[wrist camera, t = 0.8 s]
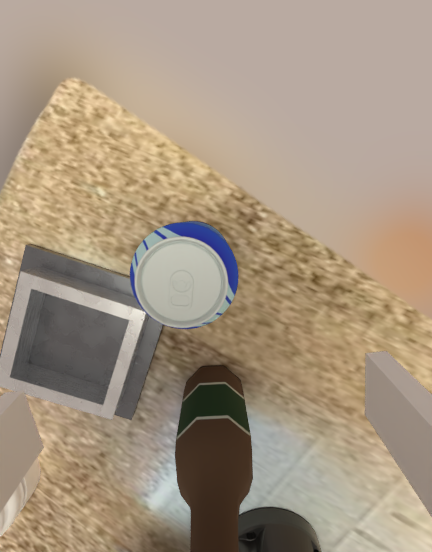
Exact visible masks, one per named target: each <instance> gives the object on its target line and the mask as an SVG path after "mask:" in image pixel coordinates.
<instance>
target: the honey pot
mask: <svg viewBox="0 0 432 552" xmlns="http://www.w3.org/2000/svg"><path fill="white" fill-rule="evenodd" d="M40 472H41V469H40V464H39V459H38V457H37V458H36V460H35V461H34V463H33V464H32V466H31V467H30V469H29V470H28V472H27V473H26V475H25V476H24V478H23V479H22V481H21V482H20V484H19V485H18V487H17V488H16V490H15V491H14V493H13V494H12V496H11V497H10V499H9V500H8V502H7V503H6V505H5V507H4V508H3V510H2V511H1V513H0V536H2V535H3V533H4V532H5V531H6V530H7V529H8V528H9V527H10V526H11V525H12V524H13V522H14V520H15V518H16V517H17V516H18V515H19V513H20V512H21V510H22V509H23V507H24V506H25V504H26V503H27V501H28V500H29V498H30V497H31V495H32V494H33V492H34V491H35V489H36V487H37V485H38V482H39V480H40Z"/></svg>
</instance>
